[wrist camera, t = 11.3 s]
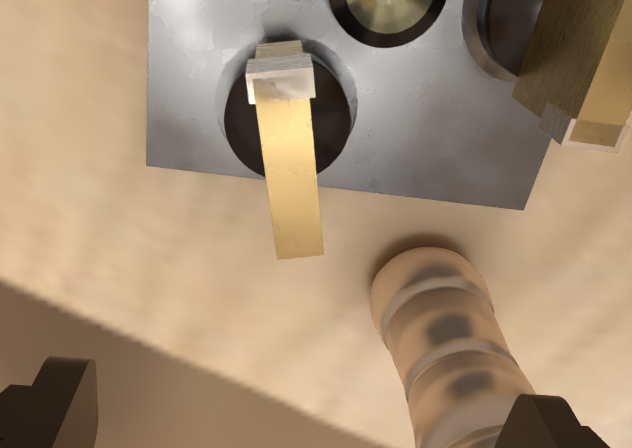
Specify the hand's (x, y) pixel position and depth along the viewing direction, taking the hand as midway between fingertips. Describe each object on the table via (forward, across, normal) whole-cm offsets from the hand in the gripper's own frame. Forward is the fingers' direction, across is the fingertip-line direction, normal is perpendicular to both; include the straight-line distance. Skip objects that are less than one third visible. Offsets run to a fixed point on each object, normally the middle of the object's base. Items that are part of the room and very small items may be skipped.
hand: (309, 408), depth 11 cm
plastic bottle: (+20, -9, +10) cm, 24 cm away
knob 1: (+18, 0, 0) cm, 18 cm away
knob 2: (+18, -10, -6) cm, 22 cm away
